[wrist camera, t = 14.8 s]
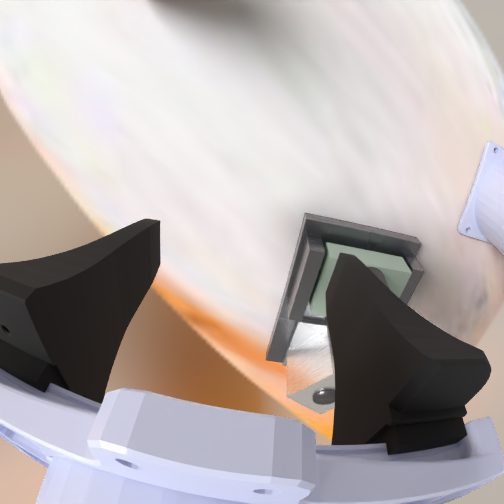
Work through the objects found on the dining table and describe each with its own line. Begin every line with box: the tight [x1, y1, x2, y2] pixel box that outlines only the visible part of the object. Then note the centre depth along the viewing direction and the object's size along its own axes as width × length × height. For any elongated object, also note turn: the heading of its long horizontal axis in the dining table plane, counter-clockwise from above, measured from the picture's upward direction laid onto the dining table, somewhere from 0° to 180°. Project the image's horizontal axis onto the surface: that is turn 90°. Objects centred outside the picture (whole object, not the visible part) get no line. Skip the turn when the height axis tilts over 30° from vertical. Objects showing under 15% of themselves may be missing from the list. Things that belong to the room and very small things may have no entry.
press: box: [266, 213, 424, 366], centre depth 23 cm, size 9×15×3 cm, turn 171°
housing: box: [287, 326, 335, 414], centre depth 23 cm, size 4×4×5 cm
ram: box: [309, 242, 412, 316], centre depth 18 cm, size 6×5×6 cm
